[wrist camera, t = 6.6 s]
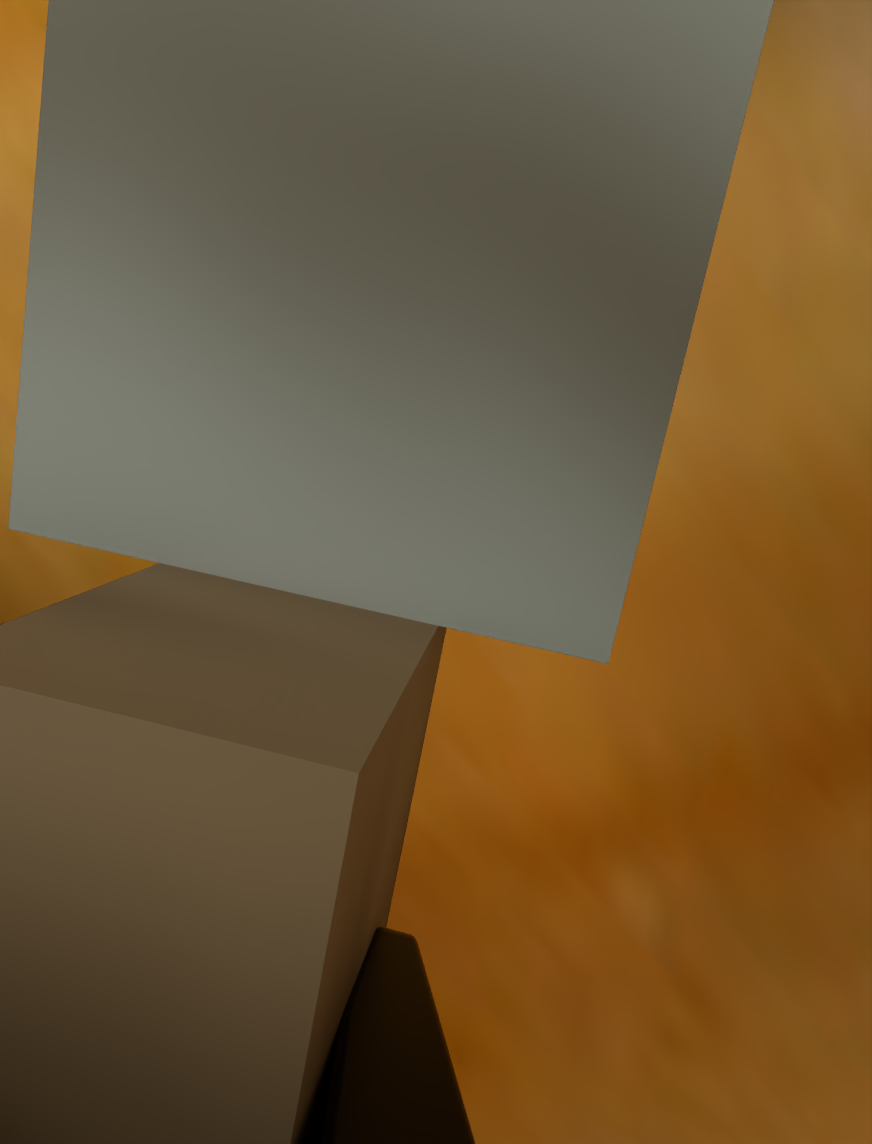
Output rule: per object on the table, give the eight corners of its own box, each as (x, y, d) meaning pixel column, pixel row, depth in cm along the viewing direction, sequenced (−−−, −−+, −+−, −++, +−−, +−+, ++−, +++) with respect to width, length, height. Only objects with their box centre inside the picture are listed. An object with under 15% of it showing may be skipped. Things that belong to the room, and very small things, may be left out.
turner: (462, 1199, 9) (398, 1749, 6) (18, 1068, 10) (-319, 1484, 6) (771, -57, 7) (1075, -707, 3) (131, -144, 7) (-359, -787, 3)
